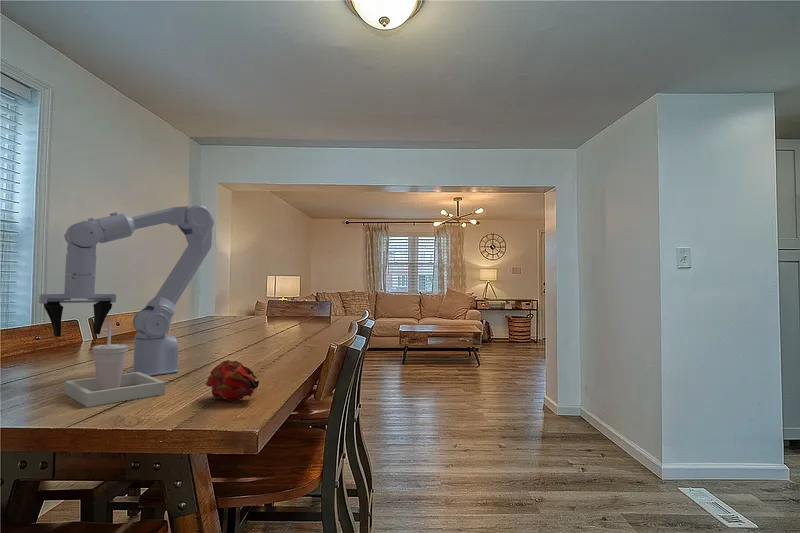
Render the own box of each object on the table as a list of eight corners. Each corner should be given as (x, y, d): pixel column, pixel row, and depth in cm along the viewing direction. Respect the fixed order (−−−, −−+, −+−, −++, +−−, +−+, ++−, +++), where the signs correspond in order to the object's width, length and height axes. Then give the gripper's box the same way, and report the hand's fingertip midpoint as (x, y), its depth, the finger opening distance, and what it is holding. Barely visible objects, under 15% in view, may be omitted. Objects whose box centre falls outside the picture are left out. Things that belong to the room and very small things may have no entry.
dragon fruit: (213, 401, 100) (252, 420, 94) (187, 383, 94) (226, 402, 88) (237, 365, 104) (276, 381, 98) (213, 346, 98) (252, 362, 91)
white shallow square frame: (138, 382, 107) (138, 371, 108) (164, 394, 98) (165, 382, 98) (64, 393, 97) (65, 381, 97) (86, 407, 88) (87, 393, 88)
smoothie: (82, 397, 95) (85, 326, 95) (101, 389, 101) (104, 323, 101) (115, 397, 95) (118, 327, 95) (132, 390, 101) (135, 324, 101)
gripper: (109, 275, 116) (106, 331, 116) (36, 273, 105) (33, 335, 105) (120, 276, 112) (117, 334, 111) (45, 274, 100) (42, 338, 100)
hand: (77, 335), depth 108 cm, fingers open, 7 cm apart
